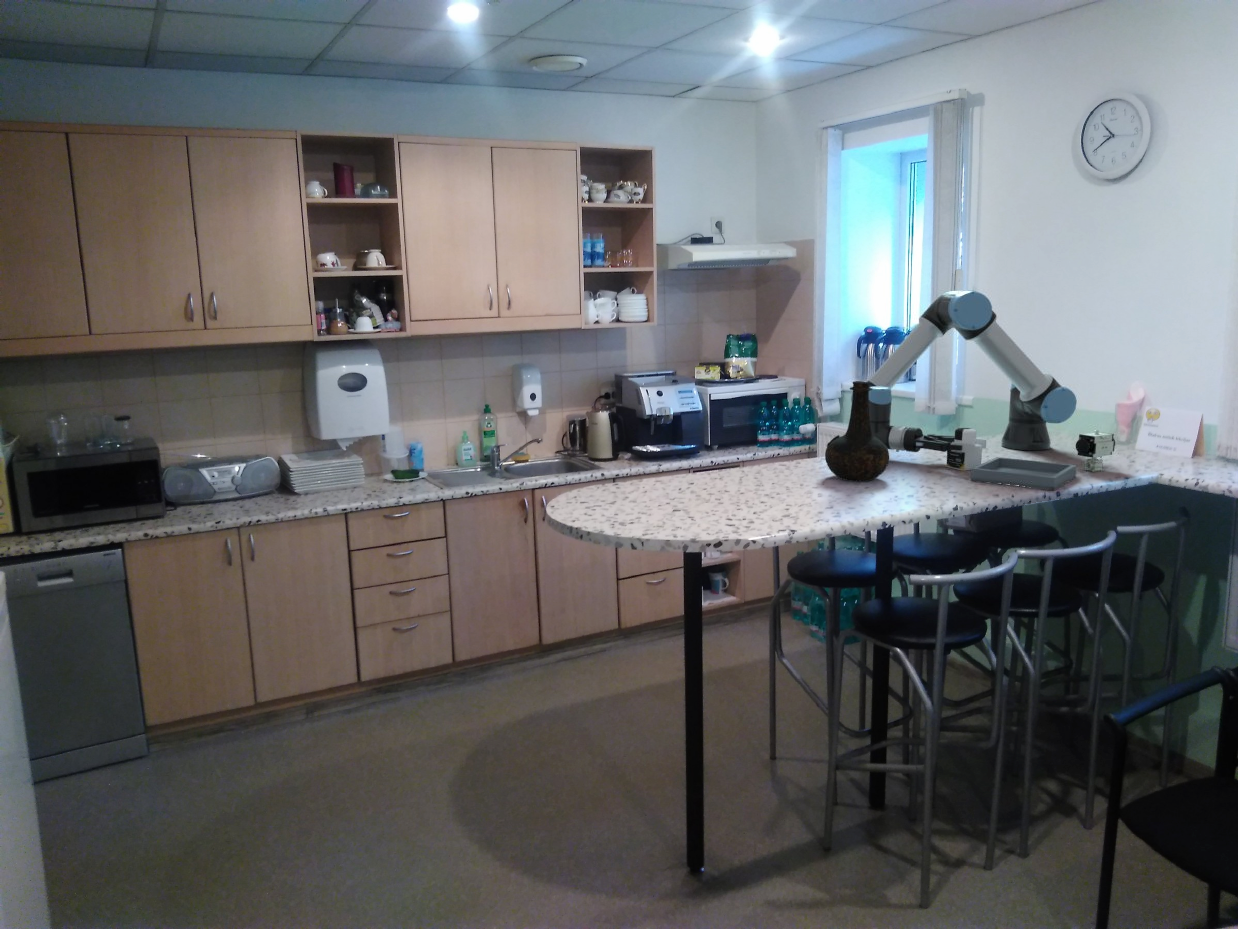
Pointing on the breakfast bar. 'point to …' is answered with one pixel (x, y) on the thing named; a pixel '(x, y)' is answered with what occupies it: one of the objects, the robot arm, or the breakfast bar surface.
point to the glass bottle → (857, 443)
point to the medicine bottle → (960, 458)
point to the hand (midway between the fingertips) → (980, 446)
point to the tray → (1024, 473)
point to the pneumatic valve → (1095, 448)
